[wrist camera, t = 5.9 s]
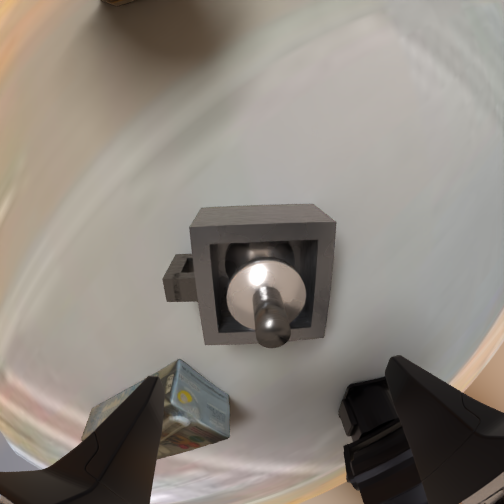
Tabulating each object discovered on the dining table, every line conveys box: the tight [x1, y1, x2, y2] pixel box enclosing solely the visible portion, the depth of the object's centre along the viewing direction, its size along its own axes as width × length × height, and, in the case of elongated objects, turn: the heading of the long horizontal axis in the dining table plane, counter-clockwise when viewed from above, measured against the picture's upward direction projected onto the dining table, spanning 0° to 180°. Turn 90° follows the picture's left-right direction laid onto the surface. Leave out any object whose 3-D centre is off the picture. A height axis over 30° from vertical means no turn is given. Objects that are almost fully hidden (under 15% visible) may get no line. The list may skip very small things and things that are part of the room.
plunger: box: [225, 241, 306, 348], centre depth 16 cm, size 5×5×9 cm
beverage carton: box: [81, 359, 230, 459], centre depth 24 cm, size 8×19×7 cm, turn 128°
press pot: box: [163, 204, 336, 345], centre depth 18 cm, size 10×8×5 cm
